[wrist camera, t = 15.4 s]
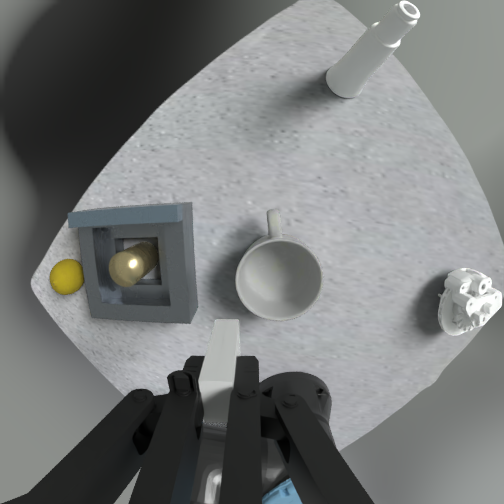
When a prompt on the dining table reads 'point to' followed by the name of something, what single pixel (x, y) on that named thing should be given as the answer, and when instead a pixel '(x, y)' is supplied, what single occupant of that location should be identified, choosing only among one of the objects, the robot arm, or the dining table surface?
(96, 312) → the jig
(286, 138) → the dining table surface
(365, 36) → the cosmetic bottle
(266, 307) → the teacup
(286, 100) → the dining table surface
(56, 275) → the lemon
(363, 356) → the dining table surface
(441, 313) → the mechanical part
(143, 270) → the brass cylinder
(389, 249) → the dining table surface
